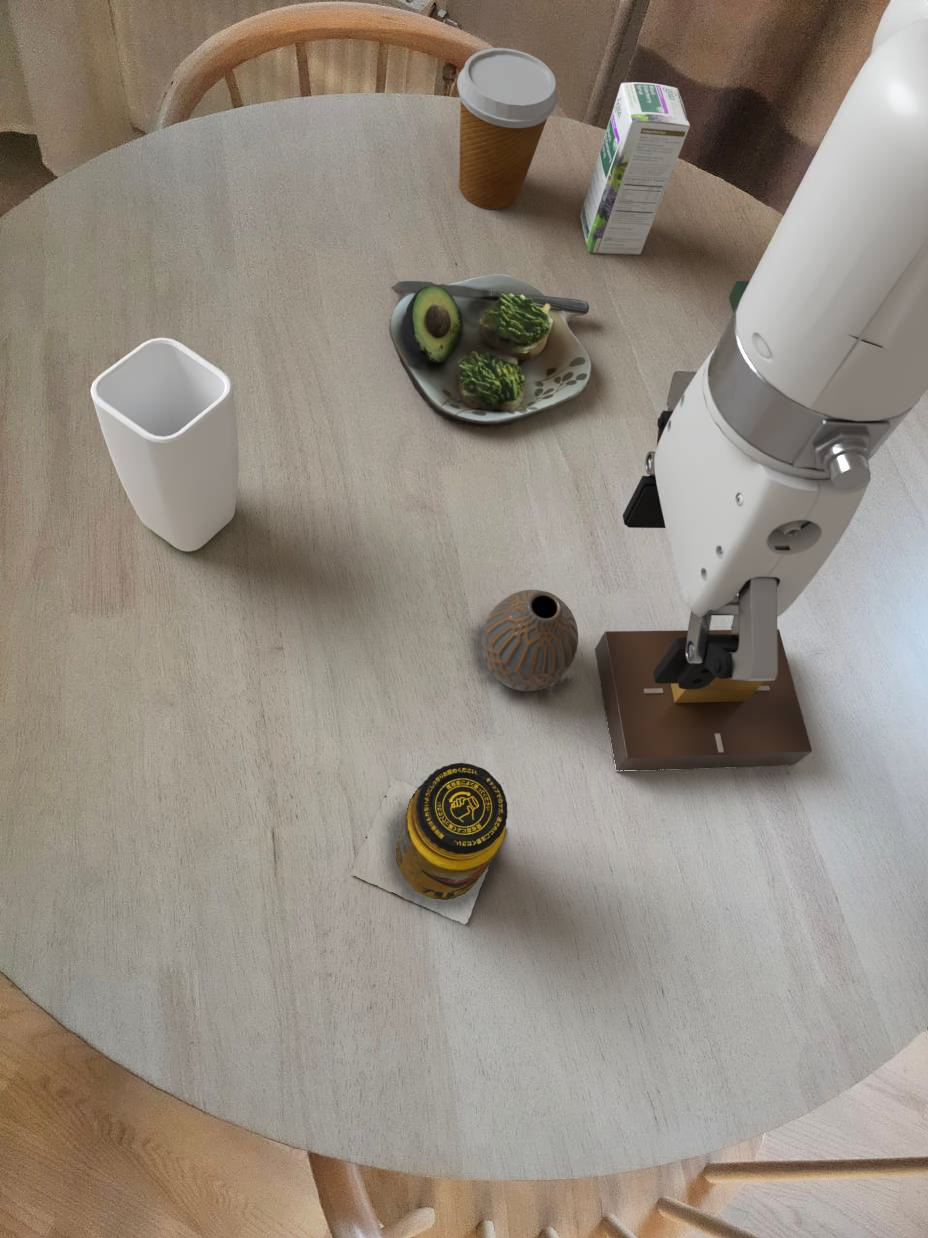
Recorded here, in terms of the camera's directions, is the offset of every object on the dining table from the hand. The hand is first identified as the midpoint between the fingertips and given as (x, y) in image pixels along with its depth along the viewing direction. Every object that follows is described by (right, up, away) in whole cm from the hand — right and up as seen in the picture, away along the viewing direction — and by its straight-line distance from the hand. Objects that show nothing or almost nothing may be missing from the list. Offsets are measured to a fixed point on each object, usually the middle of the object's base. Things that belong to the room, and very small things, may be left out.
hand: (664, 597), depth 52 cm
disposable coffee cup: (-8, +43, +46) cm, 64 cm away
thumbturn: (+7, -6, +18) cm, 20 cm away
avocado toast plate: (-9, +23, +35) cm, 43 cm away
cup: (-32, +7, +23) cm, 40 cm away
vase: (-7, -5, +21) cm, 22 cm away
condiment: (-13, -17, +13) cm, 25 cm away
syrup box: (+4, +38, +45) cm, 59 cm away
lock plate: (+7, -8, +21) cm, 23 cm away
